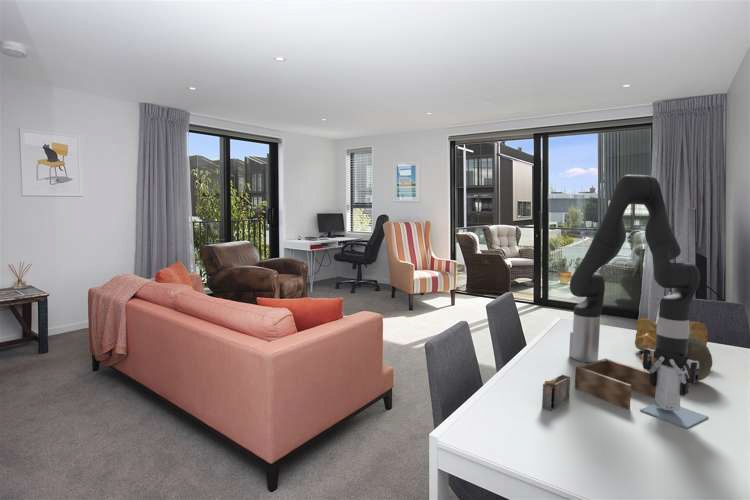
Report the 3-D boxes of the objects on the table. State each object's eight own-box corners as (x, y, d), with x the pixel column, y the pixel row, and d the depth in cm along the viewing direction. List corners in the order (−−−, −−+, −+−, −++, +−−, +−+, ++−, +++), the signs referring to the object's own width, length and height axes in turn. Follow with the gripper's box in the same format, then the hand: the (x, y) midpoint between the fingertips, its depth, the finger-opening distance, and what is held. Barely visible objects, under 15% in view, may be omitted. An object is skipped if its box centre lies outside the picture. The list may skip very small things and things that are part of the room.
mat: (640, 410, 128) (640, 409, 128) (662, 401, 134) (662, 400, 134) (686, 428, 117) (686, 427, 117) (708, 417, 124) (708, 416, 123)
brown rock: (689, 372, 158) (692, 330, 156) (721, 388, 144) (725, 343, 142) (650, 372, 157) (653, 330, 156) (678, 388, 143) (682, 343, 142)
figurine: (661, 364, 165) (663, 332, 163) (656, 368, 161) (658, 336, 159) (636, 358, 171) (638, 328, 169) (631, 362, 167) (633, 331, 165)
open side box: (574, 388, 143) (575, 367, 143) (604, 378, 151) (605, 358, 151) (627, 409, 129) (629, 385, 128) (657, 396, 137) (658, 374, 136)
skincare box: (680, 411, 123) (683, 369, 122) (663, 410, 124) (666, 368, 123) (670, 402, 129) (673, 362, 128) (654, 400, 130) (657, 361, 129)
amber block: (708, 357, 175) (710, 319, 175) (706, 365, 162) (707, 324, 162) (640, 347, 190) (641, 312, 189) (633, 354, 177) (634, 316, 177)
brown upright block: (551, 413, 127) (553, 380, 126) (541, 409, 129) (543, 377, 128) (570, 401, 134) (572, 370, 133) (560, 398, 137) (562, 367, 136)
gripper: (638, 329, 129) (635, 384, 131) (694, 342, 117) (689, 403, 118) (652, 325, 133) (649, 379, 134) (708, 338, 120) (703, 397, 122)
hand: (668, 390), depth 126 cm, fingers closed on skincare box, 7 cm apart
